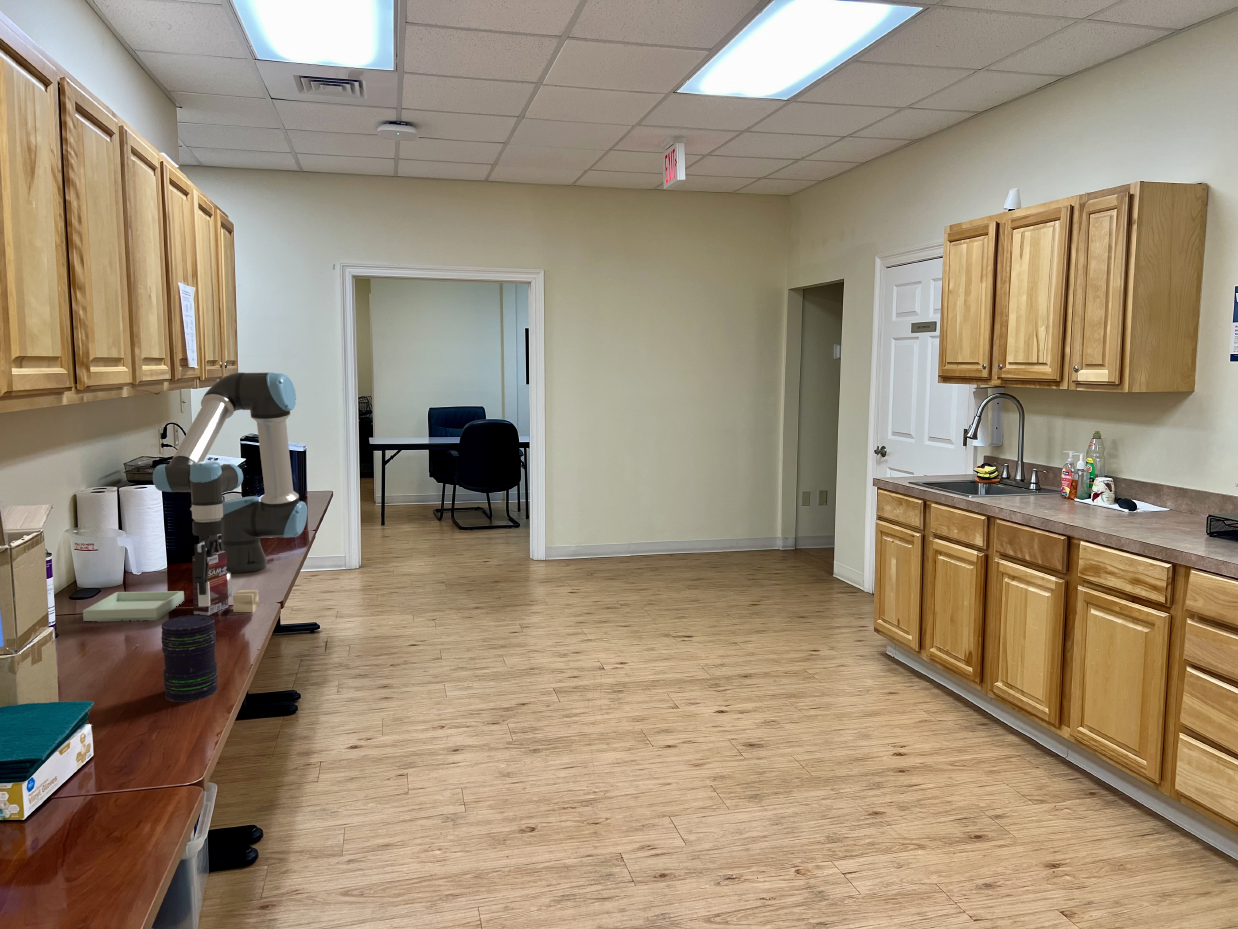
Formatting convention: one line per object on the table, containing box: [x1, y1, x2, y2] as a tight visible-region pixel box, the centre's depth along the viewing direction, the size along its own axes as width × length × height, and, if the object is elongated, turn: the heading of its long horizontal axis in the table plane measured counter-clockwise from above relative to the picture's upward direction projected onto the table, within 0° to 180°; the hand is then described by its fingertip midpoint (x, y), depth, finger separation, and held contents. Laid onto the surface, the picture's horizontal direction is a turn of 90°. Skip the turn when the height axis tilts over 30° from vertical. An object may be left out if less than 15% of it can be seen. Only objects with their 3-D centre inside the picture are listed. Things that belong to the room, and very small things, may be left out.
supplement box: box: [191, 551, 229, 616], centre depth 230 cm, size 9×5×16 cm, turn 169°
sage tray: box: [82, 590, 185, 623], centre depth 230 cm, size 18×18×3 cm
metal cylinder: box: [227, 571, 233, 599], centre depth 245 cm, size 5×5×7 cm
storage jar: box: [160, 614, 219, 703], centre depth 173 cm, size 10×10×15 cm
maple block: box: [232, 589, 260, 613], centre depth 232 cm, size 5×5×5 cm
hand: (211, 600), depth 231 cm, fingers closed on supplement box, 9 cm apart
